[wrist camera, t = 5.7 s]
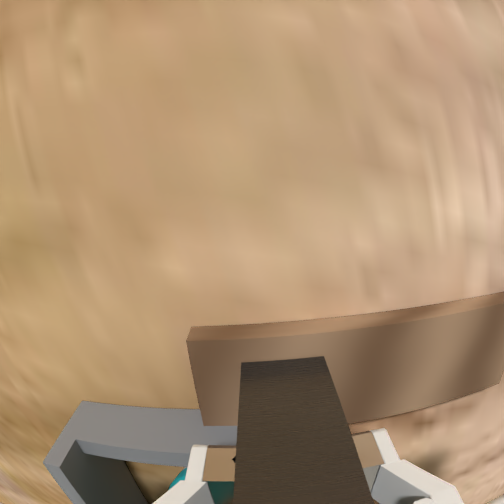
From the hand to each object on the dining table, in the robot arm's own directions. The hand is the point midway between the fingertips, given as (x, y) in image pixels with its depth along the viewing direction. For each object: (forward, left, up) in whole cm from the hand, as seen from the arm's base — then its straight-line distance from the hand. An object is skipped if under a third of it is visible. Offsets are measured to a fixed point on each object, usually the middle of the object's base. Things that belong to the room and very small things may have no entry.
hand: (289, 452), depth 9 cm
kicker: (0, +4, -4) cm, 6 cm away
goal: (+6, +8, -5) cm, 11 cm away
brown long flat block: (-4, 0, -5) cm, 6 cm away
